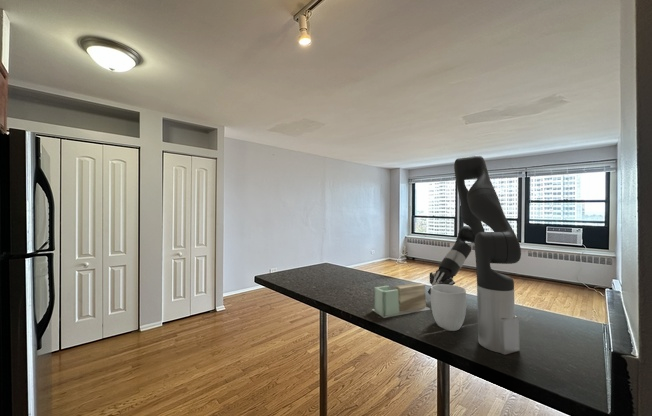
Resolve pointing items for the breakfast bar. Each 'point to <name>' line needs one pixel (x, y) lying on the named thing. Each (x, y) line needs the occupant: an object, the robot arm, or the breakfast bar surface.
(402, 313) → the board
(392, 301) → the end cap
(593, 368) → the breakfast bar surface
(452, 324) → the mug
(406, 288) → the tan wooden block
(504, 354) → the robot arm
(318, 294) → the breakfast bar surface
